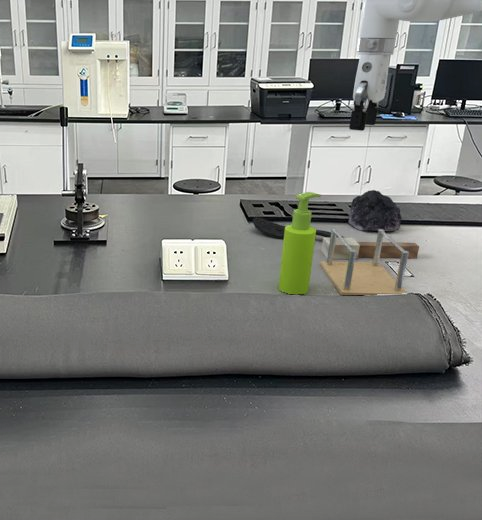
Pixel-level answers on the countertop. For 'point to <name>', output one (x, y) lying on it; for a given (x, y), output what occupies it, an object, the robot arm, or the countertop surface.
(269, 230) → the hairbrush
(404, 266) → the wire rack
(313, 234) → the soap dispenser
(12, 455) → the countertop surface
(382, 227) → the crystal cluster
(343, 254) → the cleaning brush
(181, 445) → the countertop surface
